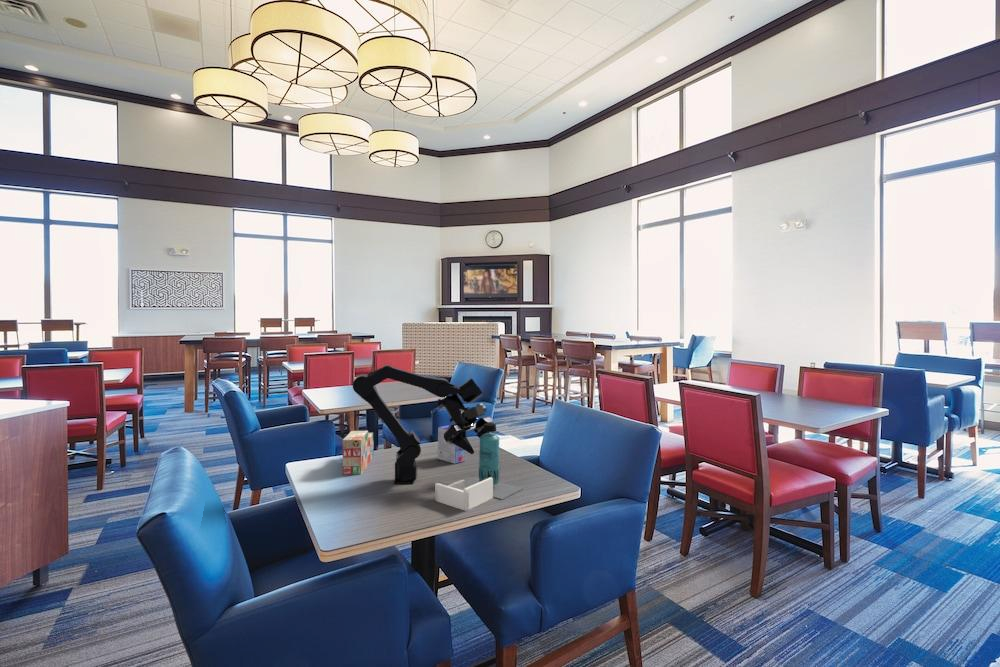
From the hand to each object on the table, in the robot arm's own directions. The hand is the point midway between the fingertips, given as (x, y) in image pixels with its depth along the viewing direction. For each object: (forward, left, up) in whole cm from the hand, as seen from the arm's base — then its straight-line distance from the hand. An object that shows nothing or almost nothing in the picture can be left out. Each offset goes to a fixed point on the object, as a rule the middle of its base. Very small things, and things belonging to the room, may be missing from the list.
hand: (482, 450), depth 149 cm
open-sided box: (-5, -11, -11) cm, 17 cm away
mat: (+2, -1, -11) cm, 12 cm away
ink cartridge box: (-14, +27, -12) cm, 32 cm away
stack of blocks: (-46, +19, -12) cm, 51 cm away
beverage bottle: (+2, -1, -11) cm, 12 cm away
